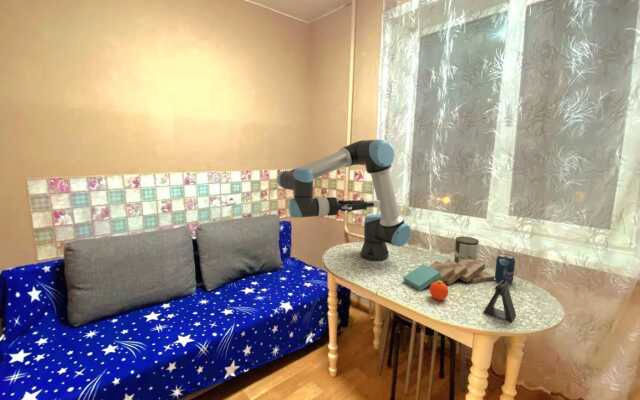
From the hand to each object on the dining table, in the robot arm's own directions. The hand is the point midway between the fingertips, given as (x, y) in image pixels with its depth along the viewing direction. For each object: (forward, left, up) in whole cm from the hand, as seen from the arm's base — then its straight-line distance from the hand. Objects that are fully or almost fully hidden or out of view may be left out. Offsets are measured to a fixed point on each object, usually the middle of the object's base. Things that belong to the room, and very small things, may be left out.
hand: (379, 203), depth 130 cm
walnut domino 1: (+9, +19, -34) cm, 40 cm away
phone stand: (+38, +29, -35) cm, 60 cm away
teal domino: (+10, +12, -34) cm, 37 cm away
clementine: (+22, +16, -35) cm, 44 cm away
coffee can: (-2, +49, -35) cm, 61 cm away
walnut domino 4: (+10, +39, -34) cm, 53 cm away
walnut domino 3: (+10, +35, -33) cm, 49 cm away
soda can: (+17, +53, -35) cm, 66 cm away
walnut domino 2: (+9, +26, -34) cm, 44 cm away
